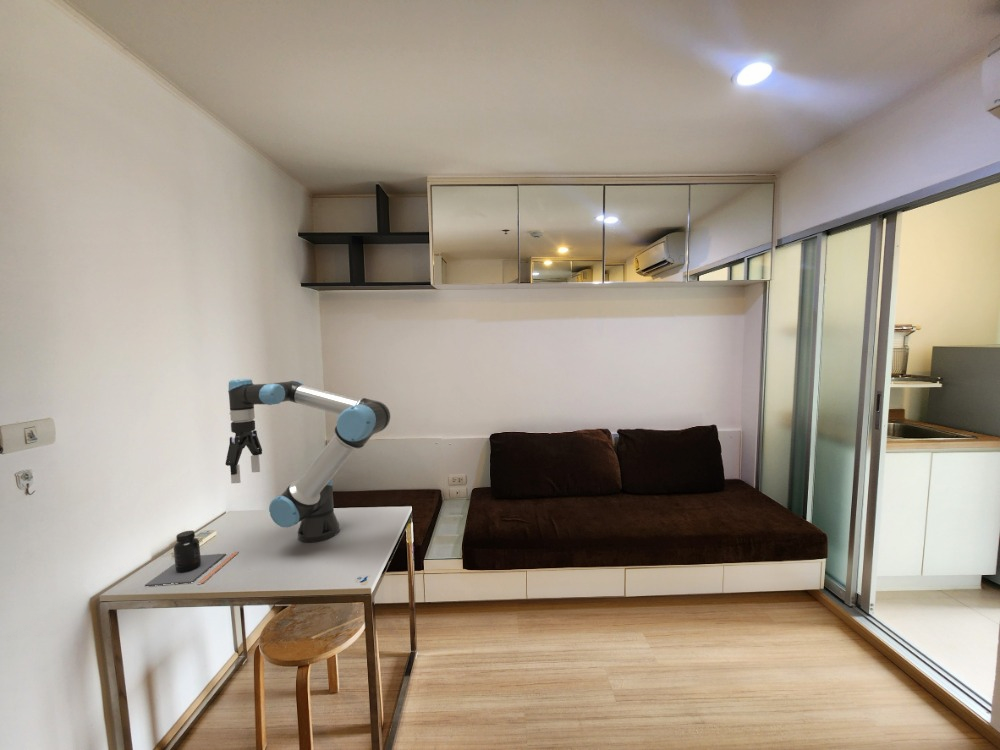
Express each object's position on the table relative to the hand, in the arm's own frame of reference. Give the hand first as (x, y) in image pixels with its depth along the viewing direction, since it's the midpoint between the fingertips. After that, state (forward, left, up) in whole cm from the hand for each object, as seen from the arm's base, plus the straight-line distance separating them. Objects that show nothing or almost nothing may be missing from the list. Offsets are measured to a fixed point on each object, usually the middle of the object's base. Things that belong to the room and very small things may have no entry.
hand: (246, 477), depth 149 cm
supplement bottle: (+13, +14, -26) cm, 32 cm away
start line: (+3, +14, -27) cm, 30 cm away
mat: (+13, +14, -27) cm, 33 cm away
